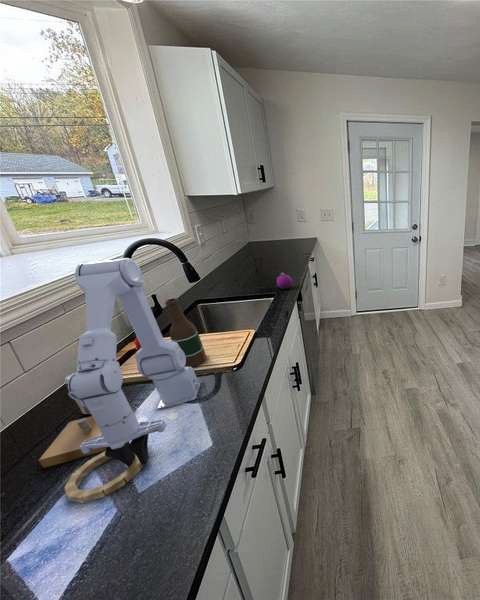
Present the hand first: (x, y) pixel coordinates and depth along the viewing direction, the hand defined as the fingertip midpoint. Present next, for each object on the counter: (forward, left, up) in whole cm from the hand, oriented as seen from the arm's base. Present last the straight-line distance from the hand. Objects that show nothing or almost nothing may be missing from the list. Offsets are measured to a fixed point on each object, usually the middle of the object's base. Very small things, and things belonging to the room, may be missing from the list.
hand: (139, 462), depth 71 cm
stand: (+15, -15, 0) cm, 21 cm away
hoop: (+6, 0, 0) cm, 6 cm away
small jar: (+20, -29, 0) cm, 35 cm away
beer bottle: (-3, -44, 0) cm, 44 cm away
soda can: (+9, -49, 0) cm, 50 cm away
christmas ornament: (-37, -107, +5) cm, 114 cm away
